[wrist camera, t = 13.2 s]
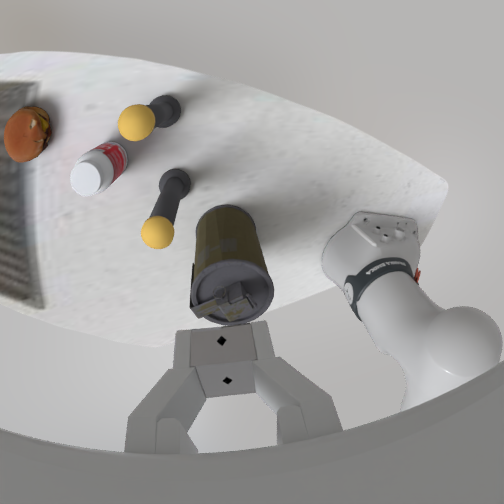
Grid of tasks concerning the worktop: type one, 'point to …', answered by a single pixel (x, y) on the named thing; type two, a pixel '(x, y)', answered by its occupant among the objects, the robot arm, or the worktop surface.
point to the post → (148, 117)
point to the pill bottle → (98, 169)
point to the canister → (229, 269)
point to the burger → (27, 133)
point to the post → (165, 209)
